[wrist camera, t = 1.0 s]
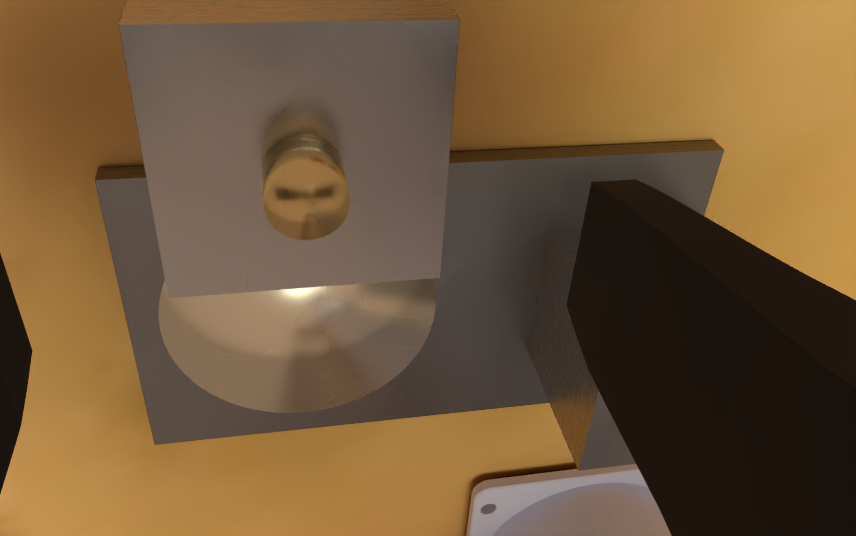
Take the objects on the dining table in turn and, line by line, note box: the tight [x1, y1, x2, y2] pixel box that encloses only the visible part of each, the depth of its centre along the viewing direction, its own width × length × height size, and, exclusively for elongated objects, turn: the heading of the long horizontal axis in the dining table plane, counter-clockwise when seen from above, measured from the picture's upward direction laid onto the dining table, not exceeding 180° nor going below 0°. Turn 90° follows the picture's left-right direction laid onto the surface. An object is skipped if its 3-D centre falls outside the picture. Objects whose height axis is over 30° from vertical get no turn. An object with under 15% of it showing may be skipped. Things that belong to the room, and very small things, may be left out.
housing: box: [119, 0, 460, 298], centre depth 14 cm, size 4×4×6 cm
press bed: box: [95, 140, 724, 471], centre depth 18 cm, size 8×14×4 cm, turn 87°
